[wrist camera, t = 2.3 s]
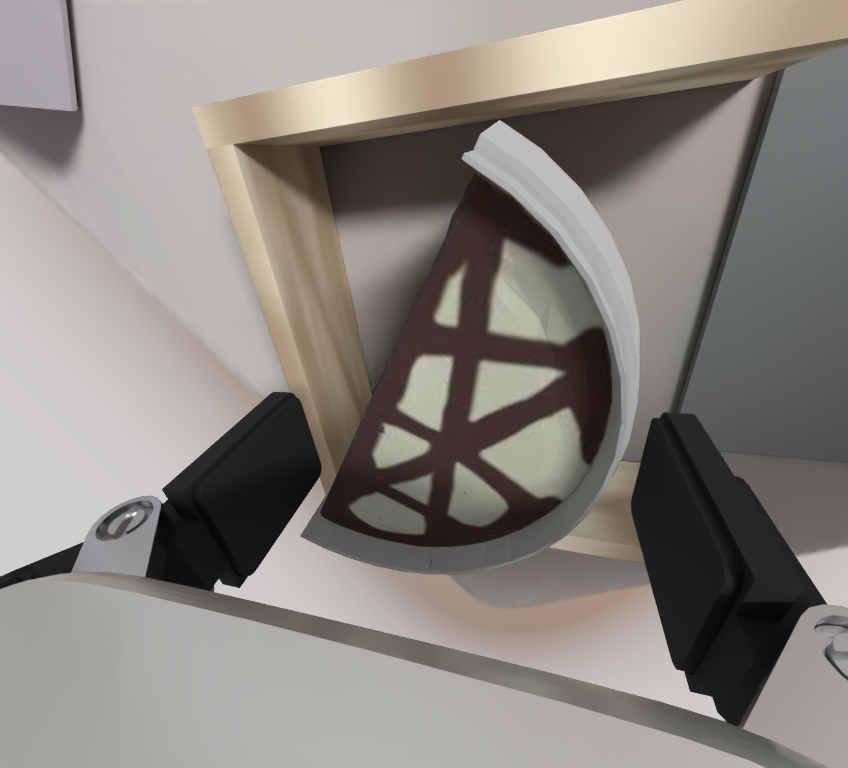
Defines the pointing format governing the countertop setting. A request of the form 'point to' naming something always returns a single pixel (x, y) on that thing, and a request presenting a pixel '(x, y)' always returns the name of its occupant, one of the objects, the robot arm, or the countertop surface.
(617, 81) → the open box
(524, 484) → the food container
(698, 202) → the countertop surface
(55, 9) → the charger
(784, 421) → the mat
